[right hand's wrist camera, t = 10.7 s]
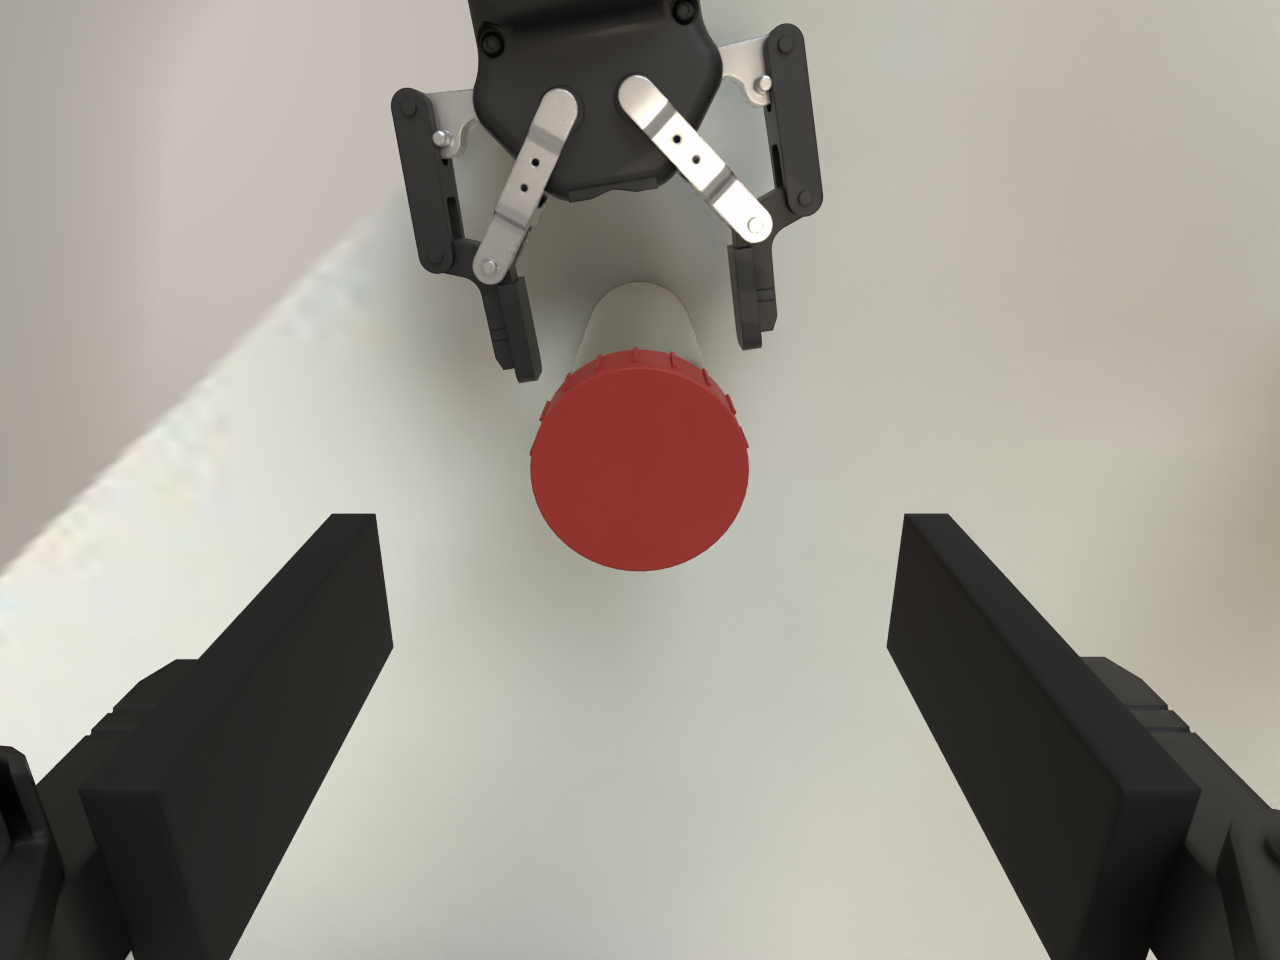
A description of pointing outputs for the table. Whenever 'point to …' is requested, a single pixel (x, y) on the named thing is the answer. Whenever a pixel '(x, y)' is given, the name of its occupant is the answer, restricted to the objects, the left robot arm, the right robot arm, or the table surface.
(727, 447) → the lid
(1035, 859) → the right robot arm
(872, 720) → the table surface
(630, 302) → the jar
